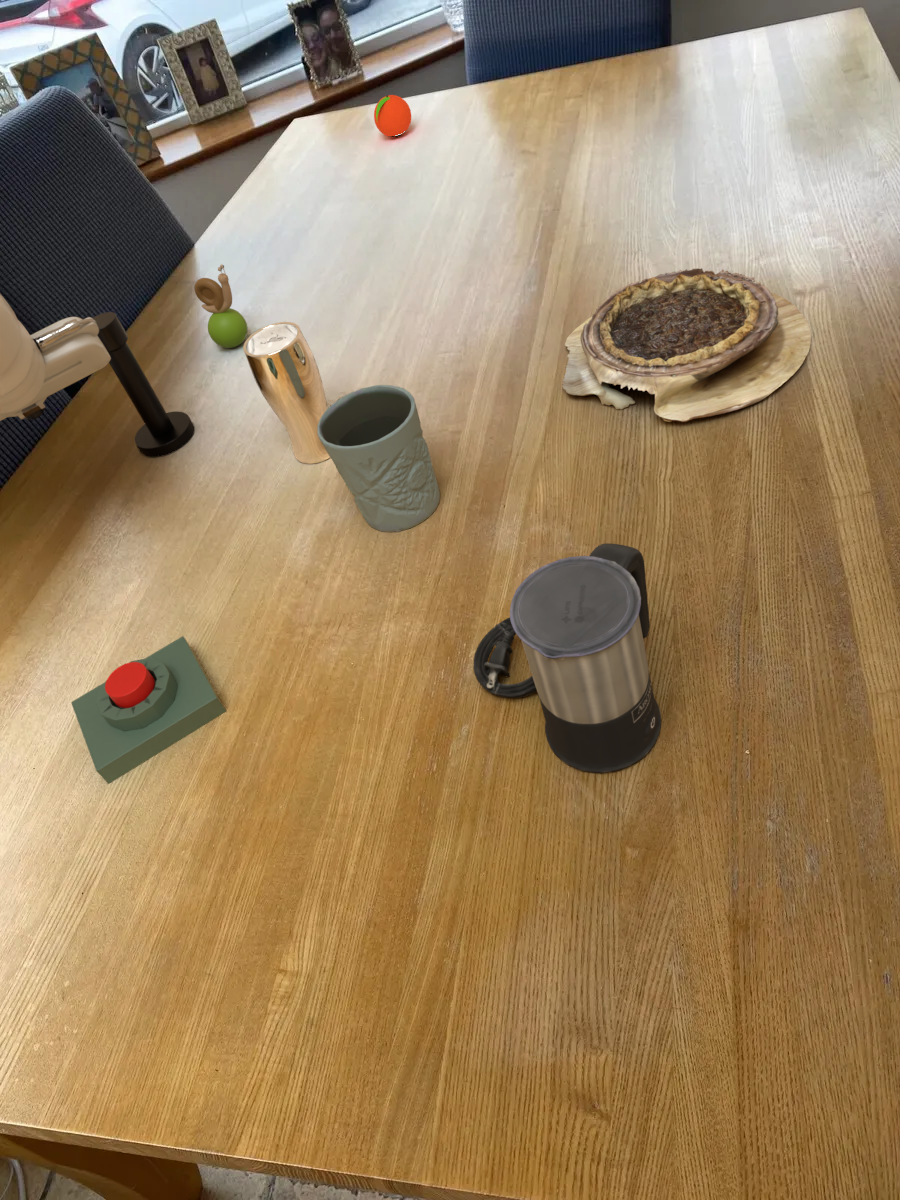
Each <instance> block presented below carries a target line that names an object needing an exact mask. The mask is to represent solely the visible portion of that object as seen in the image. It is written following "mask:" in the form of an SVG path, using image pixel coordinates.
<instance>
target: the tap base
mask: <svg viewBox="0 0 900 1200" xmlns="http://www.w3.org/2000/svg"><path fill="white" fill-rule="evenodd" d="M127 342H128V341H126V343H125V344H124V345H122V346H121V347H120V348H118V349H116V350H114V351H111V352H108V353H109V355H110V357H111V360H110V361H109V363H108V364H109V365H110V367H111V369H112V371H113V372H114V374H115V375H116V377H117V380H119V383H120V384H121V386H122V387H123V389H124V391H125V393H126V394H127V397H129V399H130V401H131V402H132V404H133V406H134V408H135V410H136V411H137V413H138V415H139V417H140V418H141V420H142V421H143V423H144V424H142V426H141V427H140V428H139V429H137V432H136V433H135V435H134V443H135V445H136V447H137V448H138V451H139V452H140V454H141V455H142V456H144V457H148V458H161V457H165V456H167V455H170V454H173V453H174V452H176V451H178V450H180V449H181V448H183V447H184V446H185V445H186V444H188V443H189V441H190V440H191V439H192V438H193V436H194V434H195V429H196V428H195V425H194V423H193V421H192V419H191V417H190V416H189V414H187V413H186V412H183V411H177V410H176V411H168V412H166V410H165V408H164V406H163V405H162V403H161V401H160V398H158V396H157V394H156V392H155V390H154V388H153V387H152V385H151V383H150V382H149V380H148V378H147V375H146V374H145V372H144V370H143V369H142V367H141V365H140V364H139V362H138V360H137V357H136V356H135V355H134V353H133V351H132V350H131V348H130V346H129V344H128V343H127Z"/></svg>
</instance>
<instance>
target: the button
mask: <svg viewBox="0 0 900 1200" xmlns="http://www.w3.org/2000/svg"><path fill="white" fill-rule="evenodd" d="M129 662H130V663H129ZM129 662H127V663H123V664H122V665H120V666H117V668H115V669H114V670H113V671H112V672H111V673H110V674H109V675H108V677H107V679H106V680H107V681H106V680H105V681H106V684H105V690H106V693H107V694H108V695H109V696H110V698H111V699H112V700H113V701H114V702H115V704H116V705H117V706H119V707H122V708H130V707H134V706H135V705H137V704H139V703H140V702H142V701H144V700H145V699H146V698H147V697H148V696H149V695H150V693H151V692H152V691H153V690H154V687H155V680H154V678H153V676H152V675H151V674H150V672H149V671H148V670H147V668H146V667H145V666H144V665H143V664H141V663H139V662H131V661H129Z"/></svg>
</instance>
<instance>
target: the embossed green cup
mask: <svg viewBox="0 0 900 1200" xmlns="http://www.w3.org/2000/svg"><path fill="white" fill-rule="evenodd" d="M327 408H328V409H327V410H326V411H325V412H324V414H323V415H322V416H321V418H320V420H319V423H318V426H317V432H318V437H319V439H320V441H321V442H322V444H323V446H324V448H325V449H326V451H327V453H328V454H329V456H330V457H331V458H330V459H331V460H332V463H333V464H334V466H335V468H336V470H337V472H338V473H339V474H340V476H341V478H342V481H343V482H344V483H345V486H346V487H347V489H348V490H349V492H350V493H351V495H352V496H353V497H354V503H355V505H356V507H357V508H358V510H359V512H360V513H361V515H362V518H363V519H364V520H365V522H366V523H367V524H368V525H369V526H370V527H371V528H373V529H374V530H377V531H380V532H383V533H395V532H396V533H398V532H402V531H406V530H409V529H413V528H414V527H416V526H418V525H420V524H421V523H423V522H424V521H426V520H427V519H429V518H430V517H431V516H432V515H433V514H434V513H435V511H436V510H437V508H438V506H439V504H440V500H441V493H440V487H439V484H438V483H439V482H438V480H437V477H436V472H435V470H434V467H433V464H432V461H433V460H432V458H431V455H430V450H429V447H428V443H427V441H426V439H425V438H424V436H423V434H424V433H423V429H422V427H421V424H422V423H421V419H420V415H419V412H418V408H417V404H416V400H415V397H414V396H413V395H412V393H411V392H410V391H408V390H407V389H406V388H404V387H401V386H396V385H391V384H390V385H389V384H375V385H370V386H366V387H363V388H360V389H357V390H355V391H352V392H349V393H347V394H345V395H344V396H342V397H340V398H339V399H337V400H336V401H335V402H333V403H332V404H331V405H329V406H328V407H327Z"/></svg>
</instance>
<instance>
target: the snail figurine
mask: <svg viewBox="0 0 900 1200" xmlns="http://www.w3.org/2000/svg"><path fill="white" fill-rule="evenodd" d="M222 270H223V272H224V273H223V272H222ZM217 271H219V272H220V273H219V274H218V275H217V280H218V282H217V281H215V280H214V279H212V278H209V277H201V278H199V279H197V280H196V282H195V284H194V287H193V288H194V293H195V296H196V297H197V299H198V300H199V301H200V302H201V303H203V304H201V308H203V309H204V311H206V312H208V313H210V314H211V315H210V317H209V318H208V322H207V331H208V335H209V337H210V339H211V340H212V341H213V342H214V343H215V344H216V345H218V346H220V347H222V348H226V349H232V348H235V347H238V346H240V345H241V344H242V343H244V342H245V339H246V337H247V335H248V325H247V322H246V319H245V317H244V316H243V315H242V314H241V313H240V312H239V311H237V310H236V309H234V308H231V307H232V305H233V294H232V288H231V284H230V282H229V277H228V274H227V273H226V271H225V265H224V264H221V263H220V265H219V266H218V267H217Z"/></svg>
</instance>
